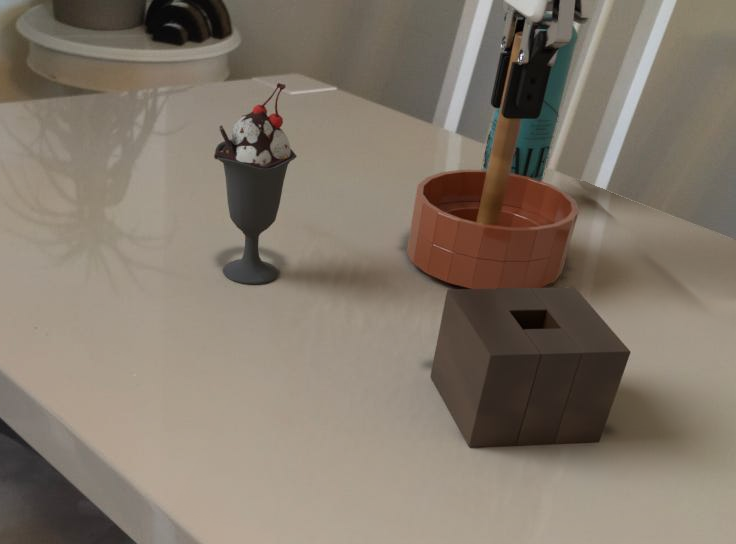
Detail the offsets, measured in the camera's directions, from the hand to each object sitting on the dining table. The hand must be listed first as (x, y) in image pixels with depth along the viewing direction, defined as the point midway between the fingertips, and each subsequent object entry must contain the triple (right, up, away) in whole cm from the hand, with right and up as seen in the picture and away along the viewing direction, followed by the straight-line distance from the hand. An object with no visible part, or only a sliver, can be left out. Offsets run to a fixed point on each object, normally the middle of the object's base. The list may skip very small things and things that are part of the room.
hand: (514, 110), depth 81 cm
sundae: (-22, -12, +5) cm, 26 cm away
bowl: (-1, -9, +9) cm, 13 cm away
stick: (-1, -9, +9) cm, 12 cm away
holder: (-3, -27, -9) cm, 29 cm away
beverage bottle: (+5, +2, +22) cm, 22 cm away
